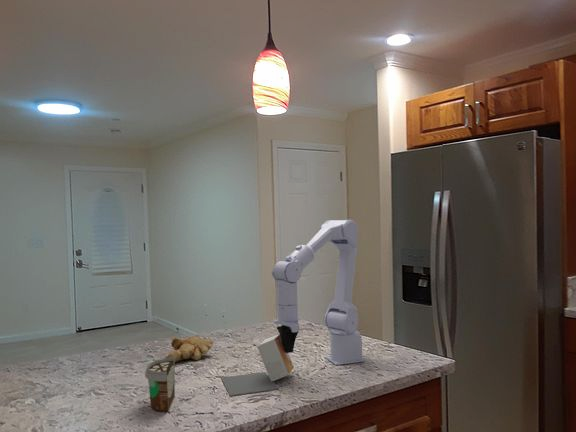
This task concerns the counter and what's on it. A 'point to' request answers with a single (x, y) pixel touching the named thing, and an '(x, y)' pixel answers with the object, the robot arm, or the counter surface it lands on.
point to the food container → (161, 384)
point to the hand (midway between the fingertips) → (288, 352)
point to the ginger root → (189, 348)
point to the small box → (275, 358)
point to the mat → (248, 384)
